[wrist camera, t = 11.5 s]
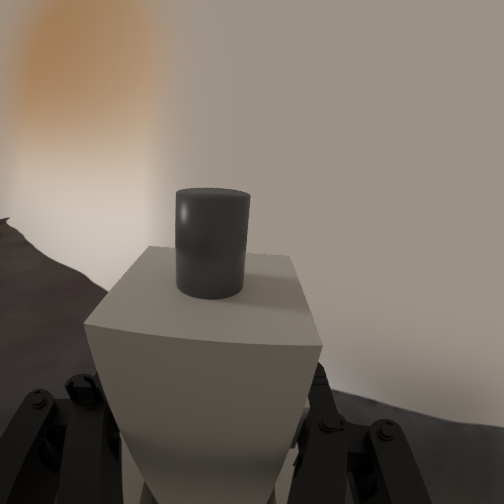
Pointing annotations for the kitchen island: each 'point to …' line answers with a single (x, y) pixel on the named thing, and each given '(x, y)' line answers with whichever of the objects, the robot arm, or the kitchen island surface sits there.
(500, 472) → the kitchen island surface
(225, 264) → the plug
